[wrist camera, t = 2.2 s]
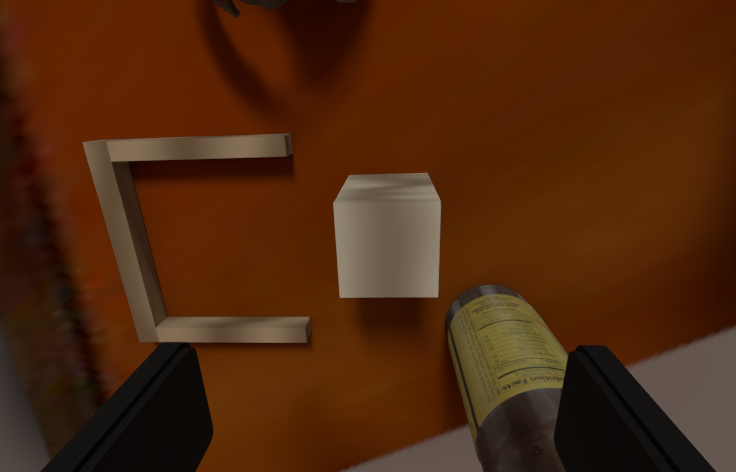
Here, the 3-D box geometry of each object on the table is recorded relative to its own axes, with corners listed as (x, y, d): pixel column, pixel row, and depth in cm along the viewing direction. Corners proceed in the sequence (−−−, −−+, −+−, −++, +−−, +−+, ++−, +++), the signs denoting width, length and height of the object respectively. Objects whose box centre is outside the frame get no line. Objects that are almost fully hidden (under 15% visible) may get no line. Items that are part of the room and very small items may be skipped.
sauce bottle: (514, 361, 28) (751, 869, 10) (433, 343, 28) (515, 823, 10) (546, 287, 26) (934, 762, 7) (458, 267, 26) (629, 701, 7)
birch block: (427, 172, 24) (440, 201, 17) (425, 246, 26) (437, 297, 19) (348, 174, 24) (333, 203, 18) (352, 247, 26) (340, 297, 19)
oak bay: (290, 133, 24) (284, 135, 22) (311, 330, 28) (306, 342, 27) (100, 139, 24) (82, 142, 23) (152, 330, 29) (139, 342, 28)
